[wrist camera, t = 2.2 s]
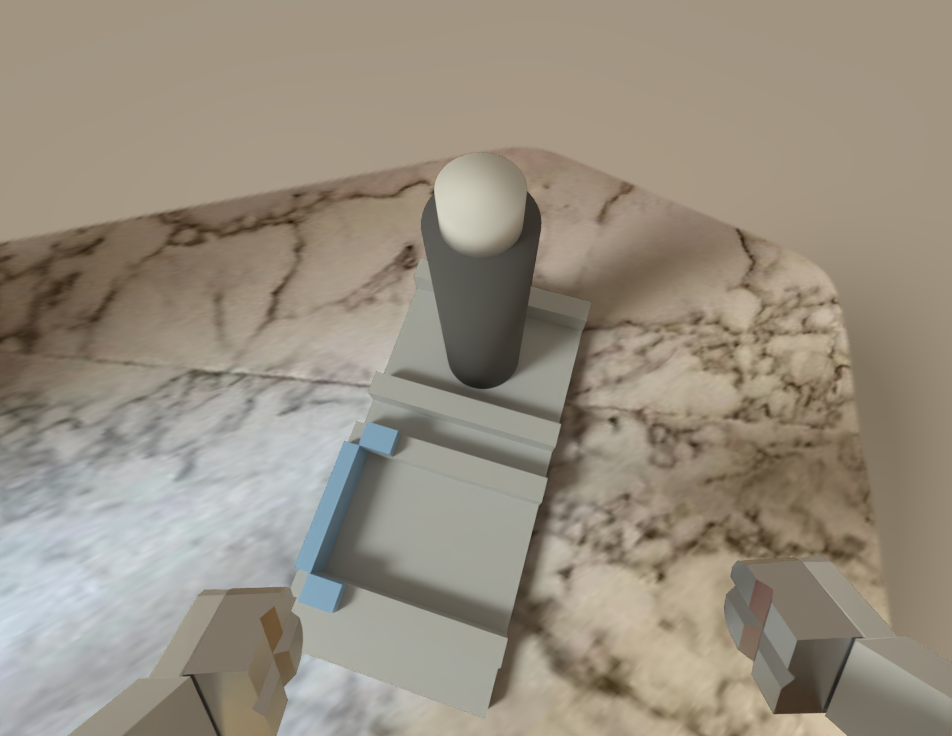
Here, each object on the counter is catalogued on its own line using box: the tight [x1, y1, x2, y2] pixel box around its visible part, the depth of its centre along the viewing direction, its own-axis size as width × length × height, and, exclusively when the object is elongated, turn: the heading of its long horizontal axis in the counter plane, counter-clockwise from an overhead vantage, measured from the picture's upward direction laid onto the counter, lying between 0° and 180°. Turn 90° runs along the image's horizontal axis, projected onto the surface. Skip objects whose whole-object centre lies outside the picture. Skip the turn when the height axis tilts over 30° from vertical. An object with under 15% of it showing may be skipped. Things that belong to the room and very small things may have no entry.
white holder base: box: [291, 258, 591, 719], centre depth 25 cm, size 10×21×3 cm, turn 163°
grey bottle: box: [421, 152, 541, 389], centre depth 21 cm, size 4×4×14 cm
